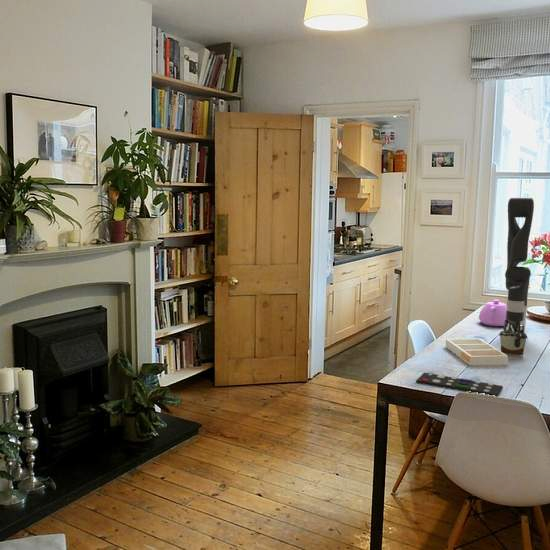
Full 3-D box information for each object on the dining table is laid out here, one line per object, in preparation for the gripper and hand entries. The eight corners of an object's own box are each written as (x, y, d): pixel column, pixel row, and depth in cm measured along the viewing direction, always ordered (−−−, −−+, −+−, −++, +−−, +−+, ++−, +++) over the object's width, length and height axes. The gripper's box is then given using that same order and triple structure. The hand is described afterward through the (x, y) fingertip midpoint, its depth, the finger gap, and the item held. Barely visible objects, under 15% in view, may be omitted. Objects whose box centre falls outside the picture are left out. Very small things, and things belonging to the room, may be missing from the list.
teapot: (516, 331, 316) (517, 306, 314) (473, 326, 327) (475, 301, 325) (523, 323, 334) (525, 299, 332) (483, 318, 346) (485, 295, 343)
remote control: (424, 376, 244) (424, 371, 244) (502, 389, 229) (502, 384, 229) (416, 384, 234) (416, 379, 234) (497, 398, 219) (497, 393, 219)
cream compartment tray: (445, 347, 285) (445, 338, 284) (479, 346, 286) (479, 338, 286) (469, 365, 257) (469, 356, 256) (507, 364, 258) (508, 355, 257)
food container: (526, 353, 276) (528, 332, 275) (526, 356, 271) (528, 335, 269) (498, 349, 281) (500, 329, 280) (497, 353, 276) (498, 332, 274)
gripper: (531, 313, 266) (528, 348, 268) (515, 306, 280) (513, 340, 282) (514, 313, 265) (512, 348, 268) (500, 306, 279) (497, 340, 282)
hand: (512, 344), depth 275 cm, fingers open, 8 cm apart
